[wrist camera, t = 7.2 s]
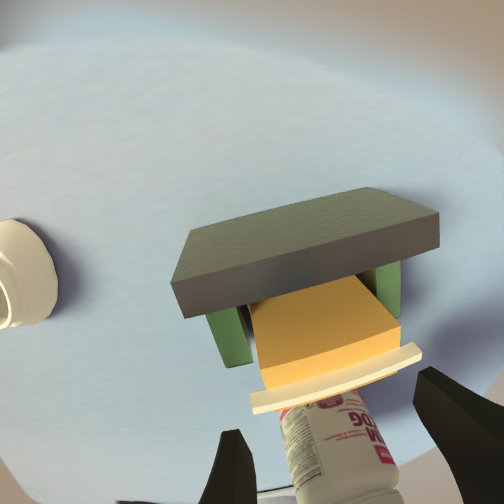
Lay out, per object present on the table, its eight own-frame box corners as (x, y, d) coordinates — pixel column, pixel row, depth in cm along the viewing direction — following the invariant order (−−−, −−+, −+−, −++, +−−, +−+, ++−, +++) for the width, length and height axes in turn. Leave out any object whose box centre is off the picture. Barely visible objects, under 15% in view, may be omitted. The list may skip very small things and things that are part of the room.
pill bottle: (373, 380, 15) (438, 498, 7) (334, 431, 16) (373, 538, 8) (299, 372, 14) (349, 525, 6) (265, 427, 15) (288, 556, 7)
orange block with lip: (365, 309, 12) (418, 377, 8) (248, 342, 12) (260, 429, 8) (362, 268, 11) (425, 330, 7) (235, 303, 11) (243, 388, 7)
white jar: (43, 332, 12) (77, 265, 11) (17, 366, 9) (44, 296, 8) (-19, 272, 11) (6, 196, 10) (-51, 296, 8) (-36, 211, 7)
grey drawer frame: (377, 344, 14) (419, 405, 9) (243, 384, 14) (251, 458, 9) (367, 186, 11) (439, 212, 7) (190, 230, 11) (169, 282, 7)
